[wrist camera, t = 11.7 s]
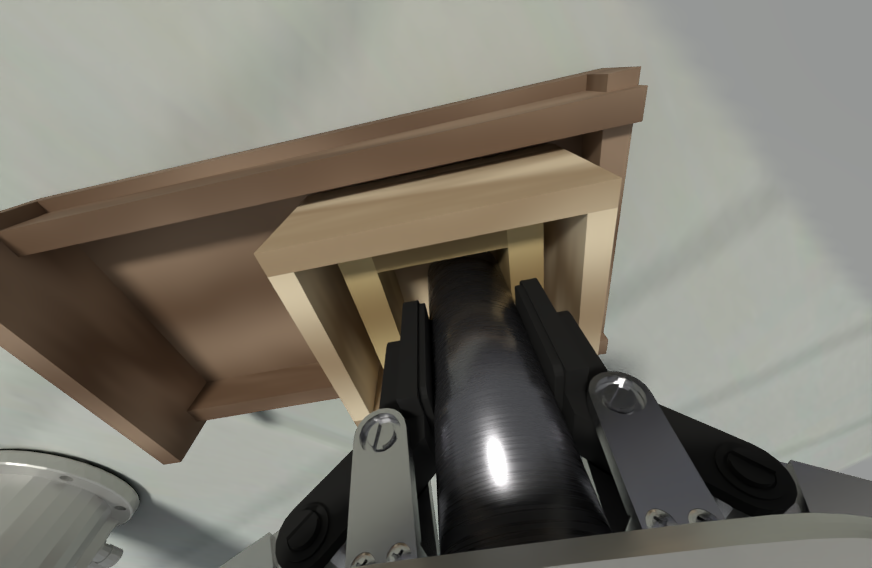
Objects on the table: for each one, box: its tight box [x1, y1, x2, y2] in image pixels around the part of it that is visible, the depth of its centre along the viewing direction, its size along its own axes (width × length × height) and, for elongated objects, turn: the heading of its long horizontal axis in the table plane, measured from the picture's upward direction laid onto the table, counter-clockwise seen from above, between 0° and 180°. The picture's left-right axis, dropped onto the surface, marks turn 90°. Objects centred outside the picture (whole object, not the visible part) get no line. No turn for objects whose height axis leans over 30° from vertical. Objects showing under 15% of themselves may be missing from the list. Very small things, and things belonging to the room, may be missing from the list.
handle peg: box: [428, 251, 612, 555], centre depth 10 cm, size 3×3×10 cm
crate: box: [254, 143, 622, 427], centre depth 13 cm, size 9×10×5 cm
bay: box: [0, 67, 648, 464], centre depth 14 cm, size 13×24×5 cm, turn 101°
